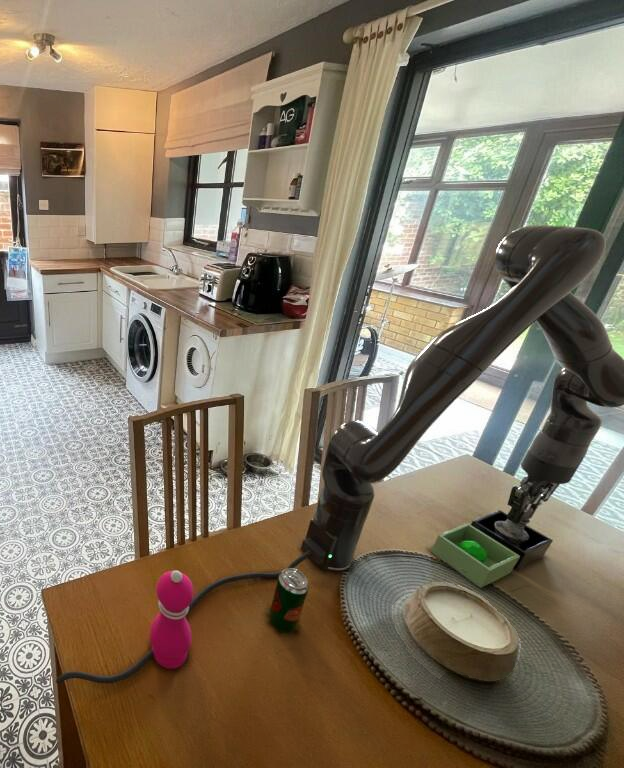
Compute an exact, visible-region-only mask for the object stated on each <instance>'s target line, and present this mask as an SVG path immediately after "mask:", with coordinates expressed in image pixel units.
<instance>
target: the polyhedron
mask: <svg viewBox="0 0 624 768" xmlns="http://www.w3.org/2000/svg"><path fill="white" fill-rule="evenodd" d="M458 547H459V548H461V549H462V550H464V551H465V552H467V553H468V554H469V555H471V556H472V557H474V558H475V559H477V560H478V561H480V562H481V563H484V562H485V561H486V558H487V553H486V551H485V549H484V548H483V547H482V546H480V545H479V544H478V543H476V542H474V541H463V542H461V543H459V544H458Z"/></svg>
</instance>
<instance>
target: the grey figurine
mask: <svg viewBox="0 0 624 768" xmlns="http://www.w3.org/2000/svg"><path fill="white" fill-rule="evenodd" d="M532 512H533V508H532V507H531V506H530V507H529V509H528V511H527V512H526V514H525V515H524V517H523V519H522V520H521V522H520V523H519V524H515V523H513V522H512V521H510V520H508V519H507V520H506V521H497V522H495V524H494V525H495V532H496V534H497V535H499V536H500V537H502V538H504V539H505V540H507V541H509V542H510V543H512V544H513V545H515V546H517V547H518V548H521V547H520V545H519V544H520V543H522V542H524V541H526V540H528V539H529V535H528V534H527V532H526V531H524V527H525V525H528V524H530V522H531V520H530V519H531V518H530V516H531V514H532ZM529 518H530V519H529Z"/></svg>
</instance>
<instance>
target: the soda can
mask: <svg viewBox="0 0 624 768" xmlns="http://www.w3.org/2000/svg"><path fill="white" fill-rule="evenodd" d="M282 571H283V572H281V571H280V572H281V573H280V574H279V577H278V578H277V581H276V586H275V589H274V594H273V598H272V601H271V605H270V610H269V613H268V618H269V621H270V623H271V625H273V626H274V628H275V629H277V630H278V631H281V632H283V633H292V632H295V631H296V629H297V628H298V625H299V622H300V618H301V615H302V611H303V608H304V605H305V602H306V599H307V595H308V592H309V582H308V578H307V576H306V575H305V574H304V573H303V572H302V571H300V570H299V569H296V568H294V569H293V568H288V567H286V568H285V569H283V570H282Z"/></svg>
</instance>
